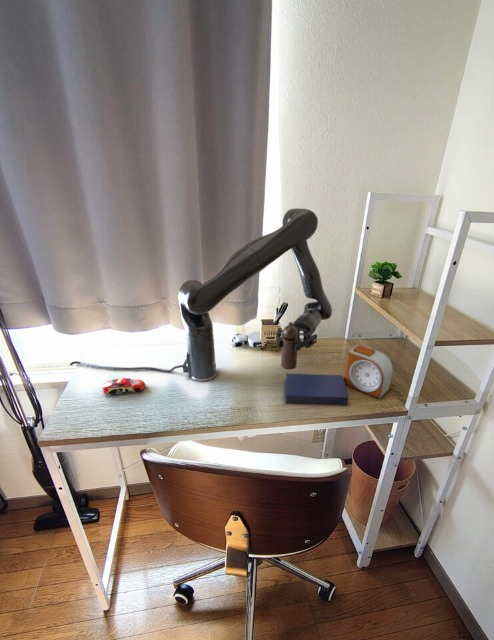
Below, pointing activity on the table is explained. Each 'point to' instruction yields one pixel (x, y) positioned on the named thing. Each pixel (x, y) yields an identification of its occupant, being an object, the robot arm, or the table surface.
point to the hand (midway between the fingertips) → (287, 347)
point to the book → (316, 389)
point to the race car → (123, 386)
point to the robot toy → (247, 340)
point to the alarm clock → (368, 370)
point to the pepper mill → (289, 347)
